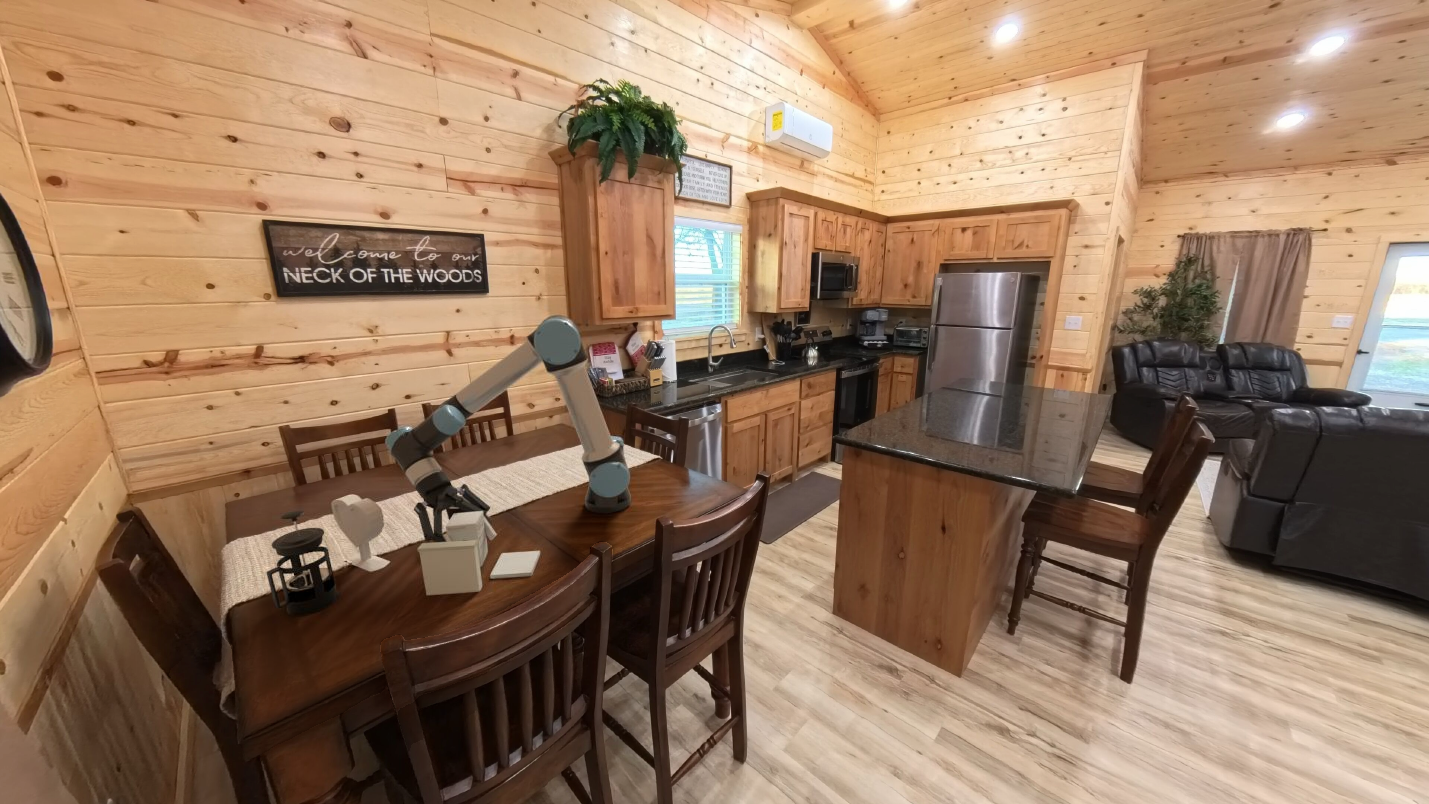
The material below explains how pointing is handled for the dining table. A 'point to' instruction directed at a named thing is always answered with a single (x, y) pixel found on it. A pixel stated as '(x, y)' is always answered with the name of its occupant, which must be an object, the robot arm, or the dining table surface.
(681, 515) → the dining table surface
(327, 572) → the french press
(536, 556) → the pad
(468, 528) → the supplement box
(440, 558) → the beige square panel
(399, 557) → the dining table surface
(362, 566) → the heart sculpture
